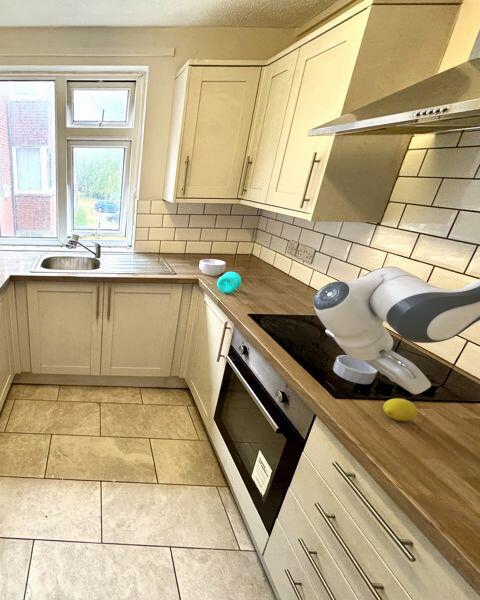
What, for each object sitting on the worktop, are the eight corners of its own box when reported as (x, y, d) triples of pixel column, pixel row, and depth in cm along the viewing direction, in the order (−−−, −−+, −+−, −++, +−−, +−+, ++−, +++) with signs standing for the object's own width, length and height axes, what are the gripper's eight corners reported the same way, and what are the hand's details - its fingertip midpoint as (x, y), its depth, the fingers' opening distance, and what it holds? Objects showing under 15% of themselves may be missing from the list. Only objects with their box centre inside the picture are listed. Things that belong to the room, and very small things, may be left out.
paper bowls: (202, 268, 208) (203, 257, 205) (226, 272, 200) (228, 260, 197) (195, 274, 197) (197, 262, 194) (220, 279, 188) (223, 266, 185)
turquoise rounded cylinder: (240, 290, 170) (243, 273, 166) (234, 296, 163) (238, 277, 159) (221, 286, 176) (224, 269, 172) (214, 291, 169) (218, 273, 165)
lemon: (392, 427, 80) (419, 424, 81) (402, 411, 78) (429, 407, 79) (371, 411, 85) (396, 408, 86) (380, 395, 82) (406, 392, 84)
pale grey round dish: (350, 364, 106) (354, 353, 104) (381, 382, 97) (386, 371, 95) (325, 366, 104) (328, 356, 103) (354, 385, 95) (358, 374, 94)
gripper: (425, 357, 60) (452, 398, 64) (342, 312, 79) (367, 346, 83) (392, 376, 62) (421, 415, 66) (319, 328, 81) (345, 360, 85)
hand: (391, 376), depth 74 cm, fingers closed
